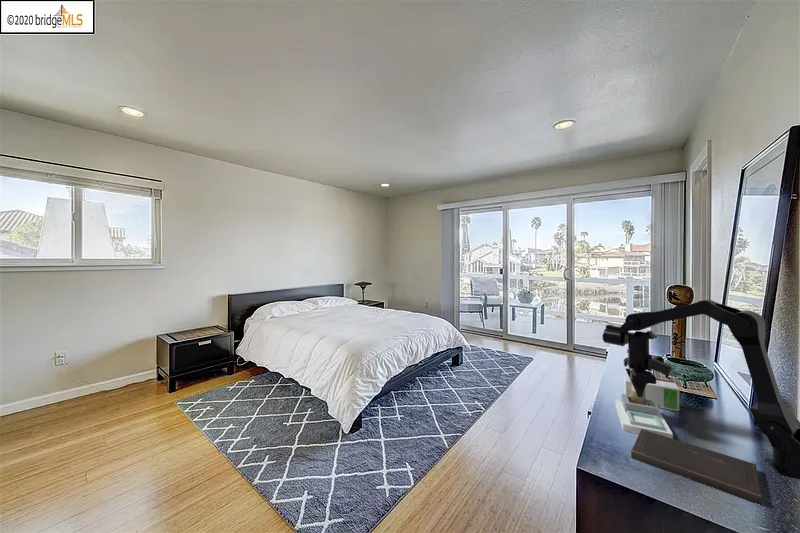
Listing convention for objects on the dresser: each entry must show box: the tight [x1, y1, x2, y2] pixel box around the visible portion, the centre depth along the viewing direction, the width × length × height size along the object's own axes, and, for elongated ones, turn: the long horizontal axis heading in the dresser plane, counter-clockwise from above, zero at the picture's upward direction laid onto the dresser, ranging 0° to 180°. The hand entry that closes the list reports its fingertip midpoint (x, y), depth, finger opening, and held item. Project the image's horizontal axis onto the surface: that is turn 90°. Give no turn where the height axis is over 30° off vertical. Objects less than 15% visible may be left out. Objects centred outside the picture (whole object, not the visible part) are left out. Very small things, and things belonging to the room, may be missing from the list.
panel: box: [614, 393, 674, 439], centre depth 103 cm, size 20×12×5 cm, turn 151°
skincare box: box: [623, 375, 680, 412], centre depth 115 cm, size 8×7×16 cm
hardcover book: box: [630, 429, 763, 506], centre depth 81 cm, size 16×23×2 cm
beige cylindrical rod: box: [631, 382, 645, 405], centre depth 106 cm, size 4×4×10 cm
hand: (638, 394), depth 106 cm, fingers closed on beige cylindrical rod, 4 cm apart
